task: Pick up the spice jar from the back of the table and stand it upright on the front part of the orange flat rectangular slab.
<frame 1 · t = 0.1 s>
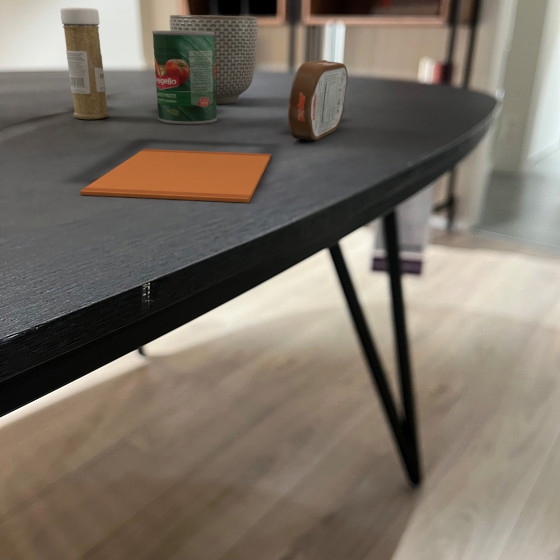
spice jar: (91, 119, 77), on the table
tin: (318, 137, 69), on the table
planter: (215, 102, 95), on the table
canned tomato: (187, 121, 77), on the table
orange flat rectangular slab: (188, 173, 50), on the table
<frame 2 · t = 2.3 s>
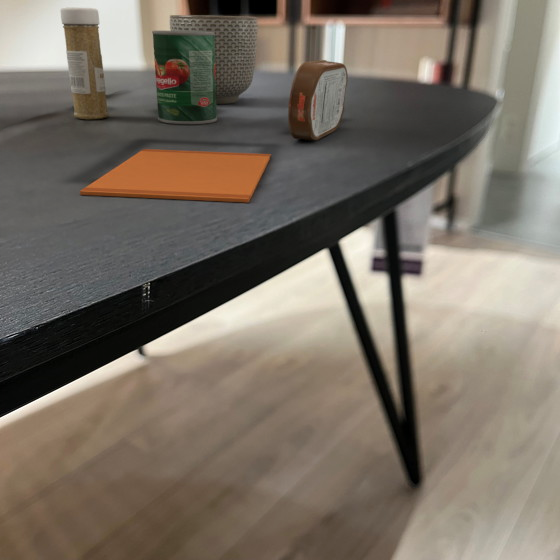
nothing on the table moved.
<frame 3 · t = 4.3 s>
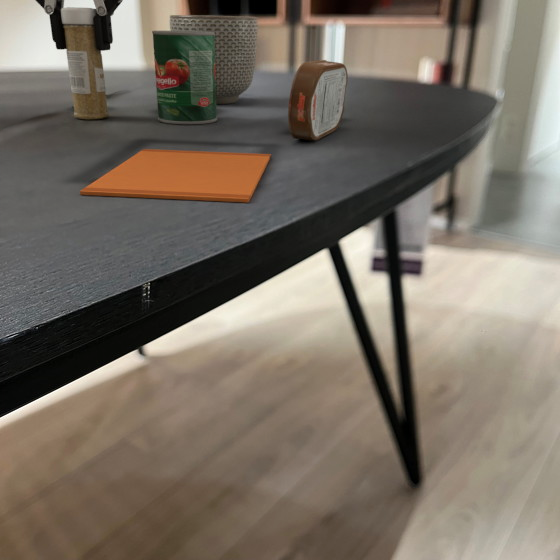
hand: (83, 47, 74), 9 cm above the table, tool pointing down, fingers closed on spice jar, 4 cm apart
spice jar: (91, 119, 77), on the table, touching gripper
everything else where it was.
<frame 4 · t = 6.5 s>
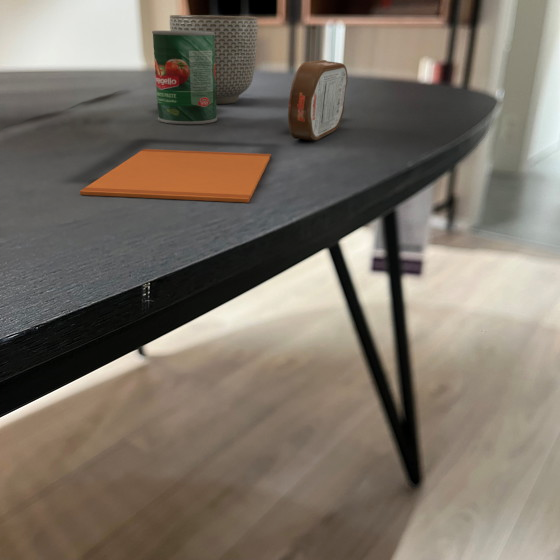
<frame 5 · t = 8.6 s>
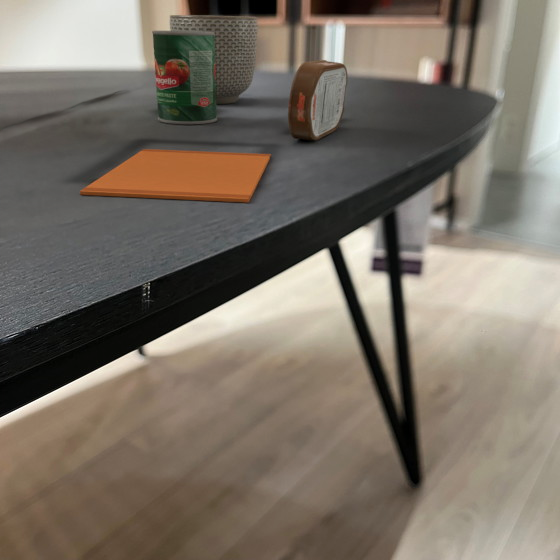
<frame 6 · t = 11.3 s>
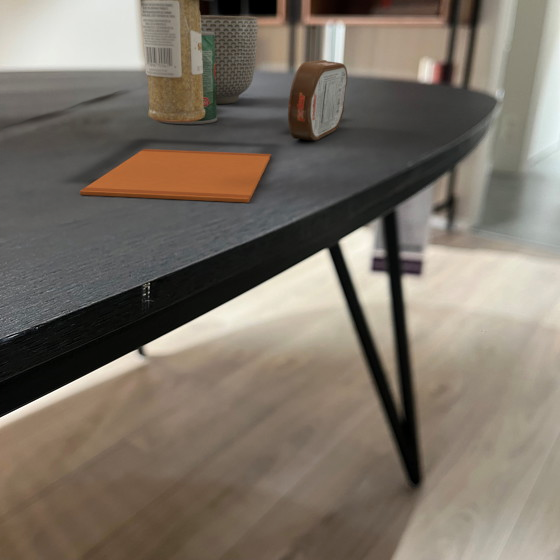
spice jar: (176, 121, 46), point 5 cm above the table, touching gripper
everything else where it was.
when the fingers open (9 cm above the table, at t = 12.9 s): spice jar stays where it is, resting on orange flat rectangular slab.
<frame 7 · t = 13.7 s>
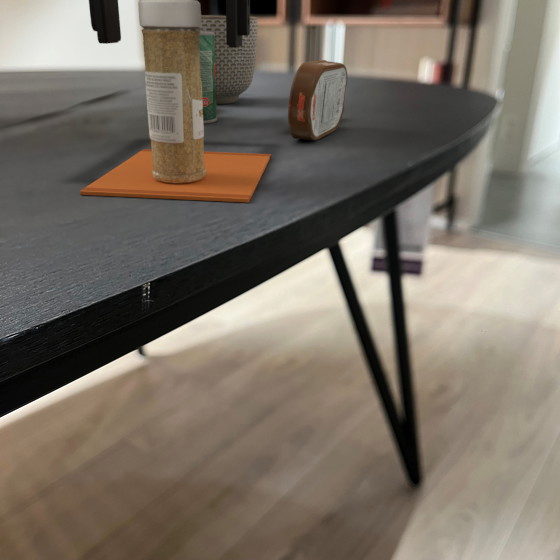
hand: (171, 44, 43), 11 cm above the table, tool pointing down, fingers open, 9 cm apart
spice jar: (179, 180, 48), resting on orange flat rectangular slab
everything else where it was.
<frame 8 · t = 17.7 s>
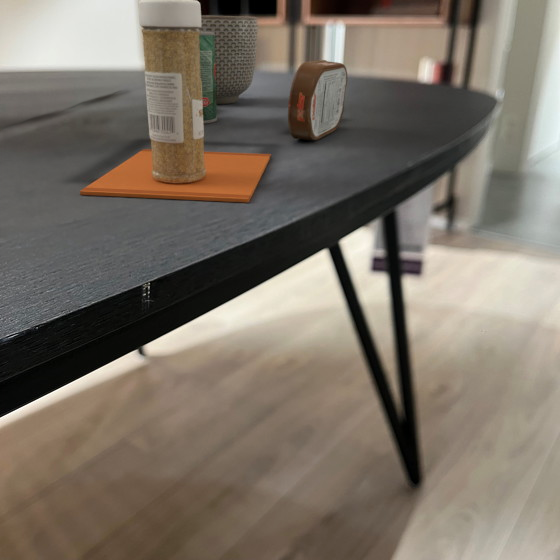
nothing on the table moved.
at the end: spice jar inside the target area on the orange flat rectangular slab (2.9 cm from its centre), point 0.1 cm above the orange flat rectangular slab's base; spice jar tilted 0° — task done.
